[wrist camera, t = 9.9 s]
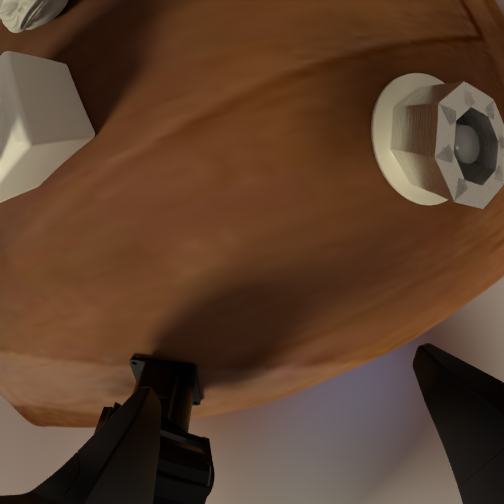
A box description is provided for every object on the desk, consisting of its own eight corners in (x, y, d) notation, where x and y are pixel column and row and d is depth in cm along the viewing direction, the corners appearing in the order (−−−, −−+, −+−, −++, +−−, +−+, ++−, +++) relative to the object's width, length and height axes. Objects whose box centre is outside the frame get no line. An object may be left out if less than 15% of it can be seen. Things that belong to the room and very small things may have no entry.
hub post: (459, 210, 18) (495, 229, 14) (363, 194, 17) (395, 213, 13) (471, 98, 14) (509, 99, 10) (373, 57, 13) (407, 40, 9)
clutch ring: (473, 155, 15) (517, 166, 11) (421, 206, 17) (464, 229, 12) (433, 75, 13) (478, 68, 8) (372, 123, 15) (415, 122, 10)
